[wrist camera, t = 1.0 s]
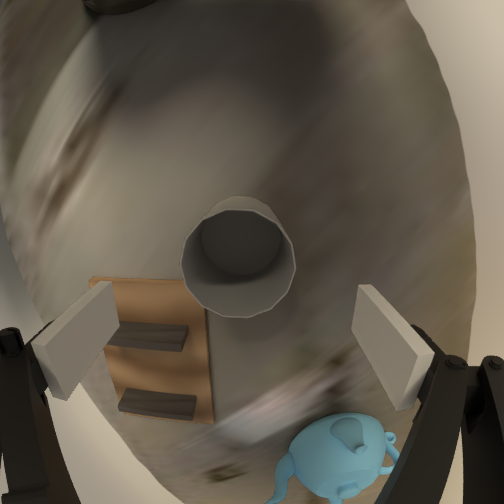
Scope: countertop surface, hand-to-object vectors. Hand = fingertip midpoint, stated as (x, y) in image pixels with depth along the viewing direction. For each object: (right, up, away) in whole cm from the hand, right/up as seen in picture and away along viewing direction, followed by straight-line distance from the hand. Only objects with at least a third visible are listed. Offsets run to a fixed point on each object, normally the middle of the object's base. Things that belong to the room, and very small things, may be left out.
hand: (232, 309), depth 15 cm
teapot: (+13, -27, +25) cm, 40 cm away
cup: (0, +5, +16) cm, 17 cm away
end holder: (-11, -11, +20) cm, 25 cm away
